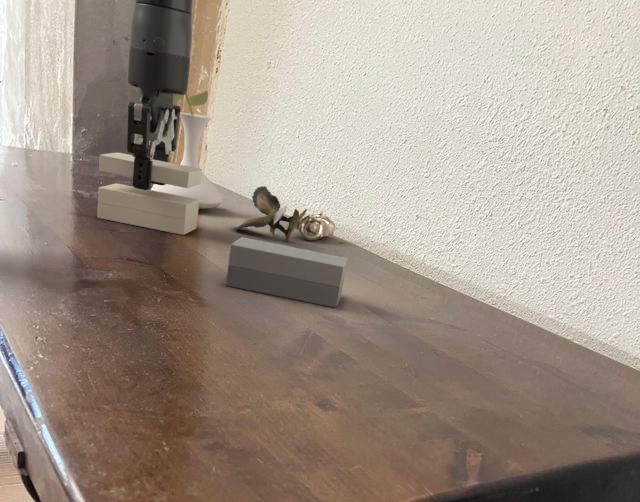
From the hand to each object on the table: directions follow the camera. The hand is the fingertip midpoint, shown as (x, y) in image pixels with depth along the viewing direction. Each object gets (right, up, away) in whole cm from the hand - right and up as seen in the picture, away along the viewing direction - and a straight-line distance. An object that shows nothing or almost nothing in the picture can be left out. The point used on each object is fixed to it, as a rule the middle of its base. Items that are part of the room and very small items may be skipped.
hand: (149, 186), depth 100 cm
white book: (0, +1, 0) cm, 1 cm away
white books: (-1, -4, +2) cm, 5 cm away
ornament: (+22, -4, +14) cm, 26 cm away
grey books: (+19, -18, -19) cm, 32 cm away
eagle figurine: (+15, -5, +9) cm, 18 cm away
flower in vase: (+1, +3, +20) cm, 20 cm away
